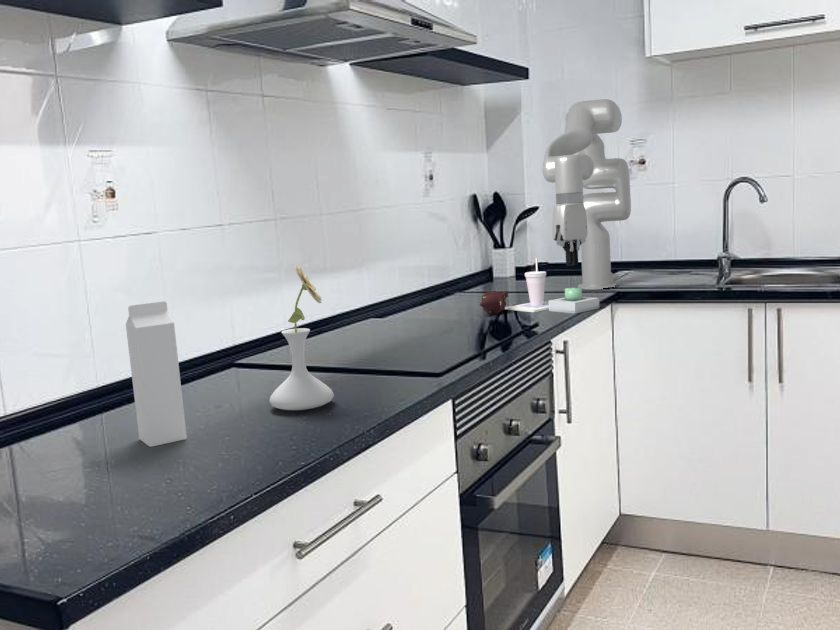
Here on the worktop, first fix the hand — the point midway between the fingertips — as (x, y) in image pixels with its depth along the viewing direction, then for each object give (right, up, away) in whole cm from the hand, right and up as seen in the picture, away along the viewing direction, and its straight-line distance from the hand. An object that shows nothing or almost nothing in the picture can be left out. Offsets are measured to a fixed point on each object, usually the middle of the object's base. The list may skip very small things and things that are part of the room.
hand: (572, 265), depth 239 cm
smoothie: (-8, -11, +11) cm, 18 cm away
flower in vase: (-64, -30, -88) cm, 113 cm away
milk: (-84, -34, -103) cm, 137 cm away
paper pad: (-9, -12, +11) cm, 18 cm away
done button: (+1, -10, +2) cm, 10 cm away
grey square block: (+1, -13, +2) cm, 13 cm away
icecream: (-22, -14, +5) cm, 26 cm away
